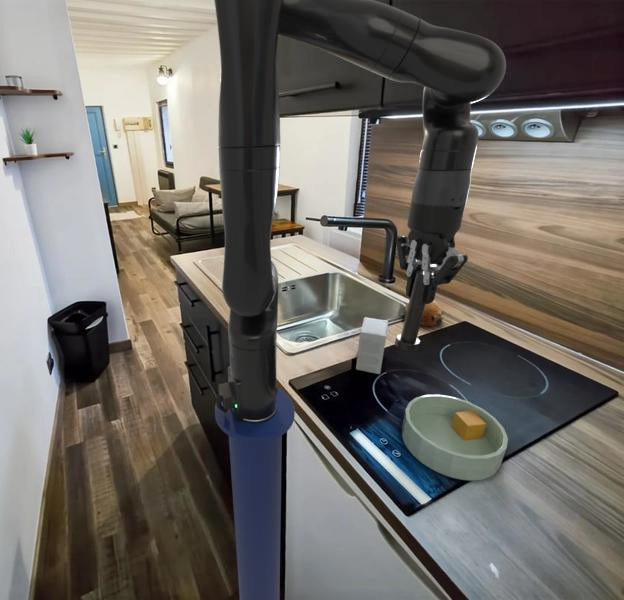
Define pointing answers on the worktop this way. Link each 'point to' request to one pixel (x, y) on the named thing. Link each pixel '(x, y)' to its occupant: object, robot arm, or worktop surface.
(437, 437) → the bowl
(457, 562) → the worktop surface
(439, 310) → the bread roll
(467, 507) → the worktop surface
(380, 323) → the small box
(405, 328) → the rod
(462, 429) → the block
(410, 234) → the robot arm
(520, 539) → the worktop surface
